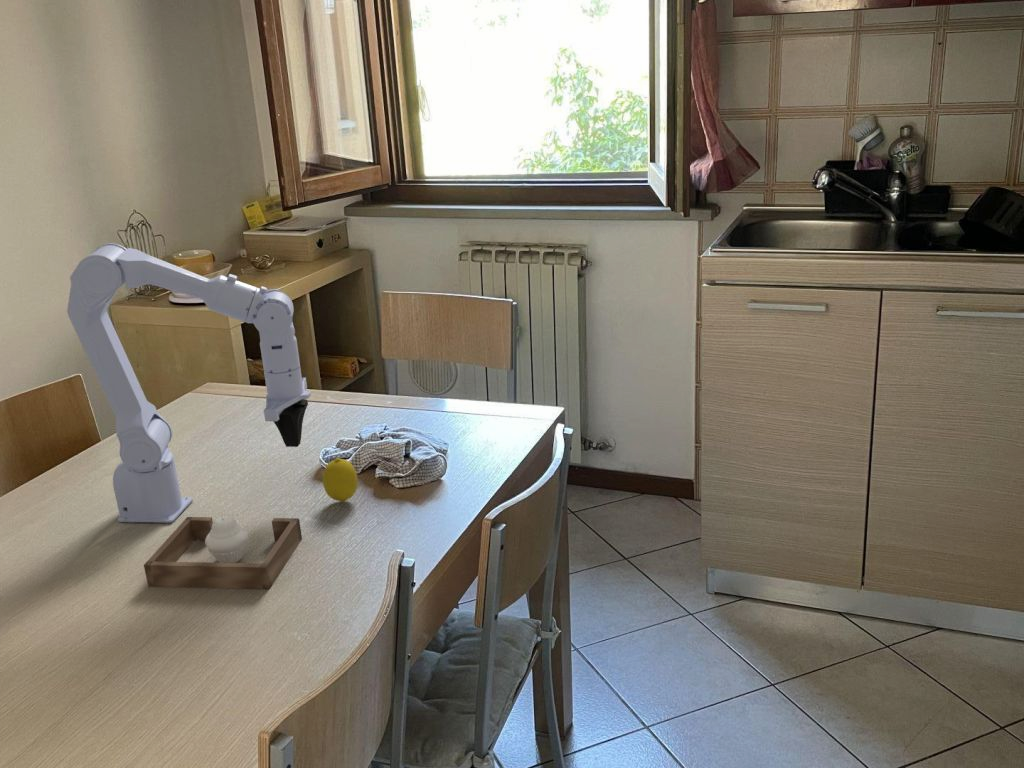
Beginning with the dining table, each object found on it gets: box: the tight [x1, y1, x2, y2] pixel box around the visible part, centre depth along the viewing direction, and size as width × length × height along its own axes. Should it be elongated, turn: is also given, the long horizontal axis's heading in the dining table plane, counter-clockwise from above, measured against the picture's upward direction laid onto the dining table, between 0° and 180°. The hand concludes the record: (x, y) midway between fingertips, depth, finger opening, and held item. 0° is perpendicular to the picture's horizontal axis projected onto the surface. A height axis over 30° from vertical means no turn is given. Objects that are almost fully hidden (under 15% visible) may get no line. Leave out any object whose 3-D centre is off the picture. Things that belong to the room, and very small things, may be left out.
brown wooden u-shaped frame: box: [143, 516, 303, 590], centre depth 138 cm, size 18×14×4 cm
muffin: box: [204, 515, 249, 563], centre depth 138 cm, size 6×6×7 cm
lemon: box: [322, 457, 358, 504], centre depth 153 cm, size 6×6×8 cm
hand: (293, 445), depth 154 cm, fingers closed
